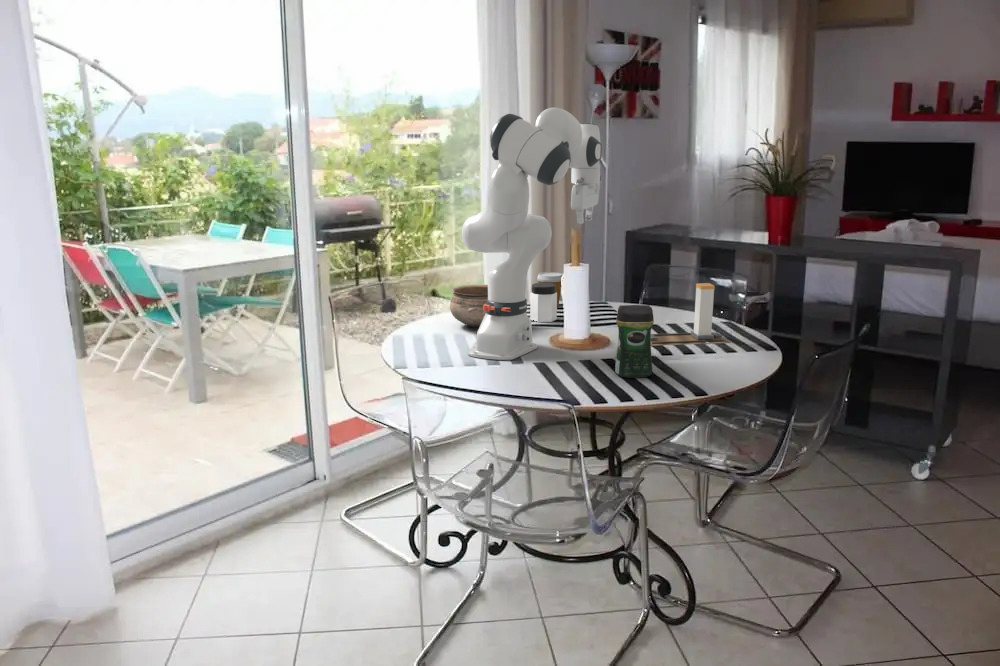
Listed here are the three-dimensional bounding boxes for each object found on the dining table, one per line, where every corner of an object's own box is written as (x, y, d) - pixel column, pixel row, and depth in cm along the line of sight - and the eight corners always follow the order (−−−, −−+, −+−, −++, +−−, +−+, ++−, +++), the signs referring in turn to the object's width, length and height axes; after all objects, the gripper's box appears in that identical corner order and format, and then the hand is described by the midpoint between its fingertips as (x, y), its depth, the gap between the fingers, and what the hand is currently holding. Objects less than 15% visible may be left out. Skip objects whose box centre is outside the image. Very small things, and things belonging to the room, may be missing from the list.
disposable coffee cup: (550, 302, 298) (550, 270, 295) (568, 307, 291) (569, 274, 288) (531, 306, 292) (531, 273, 289) (549, 310, 285) (549, 277, 282)
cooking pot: (505, 336, 250) (505, 297, 247) (445, 335, 252) (444, 297, 249) (509, 317, 275) (509, 282, 272) (454, 317, 276) (454, 282, 273)
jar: (537, 315, 278) (538, 281, 275) (559, 318, 274) (560, 283, 271) (526, 321, 270) (526, 286, 267) (548, 323, 266) (549, 288, 263)
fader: (697, 339, 240) (701, 286, 236) (690, 334, 246) (693, 282, 242) (713, 338, 240) (717, 286, 237) (706, 333, 246) (709, 282, 242)
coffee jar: (649, 370, 215) (652, 302, 211) (653, 379, 208) (657, 308, 203) (613, 369, 216) (615, 302, 211) (616, 378, 208) (618, 308, 203)
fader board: (645, 349, 235) (646, 342, 234) (633, 338, 247) (633, 331, 247) (730, 346, 238) (731, 339, 237) (714, 335, 250) (714, 328, 250)
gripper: (586, 179, 239) (585, 226, 242) (603, 176, 257) (602, 219, 261) (566, 179, 241) (565, 225, 244) (584, 175, 260) (583, 218, 263)
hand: (584, 222), depth 253 cm, fingers open, 8 cm apart
